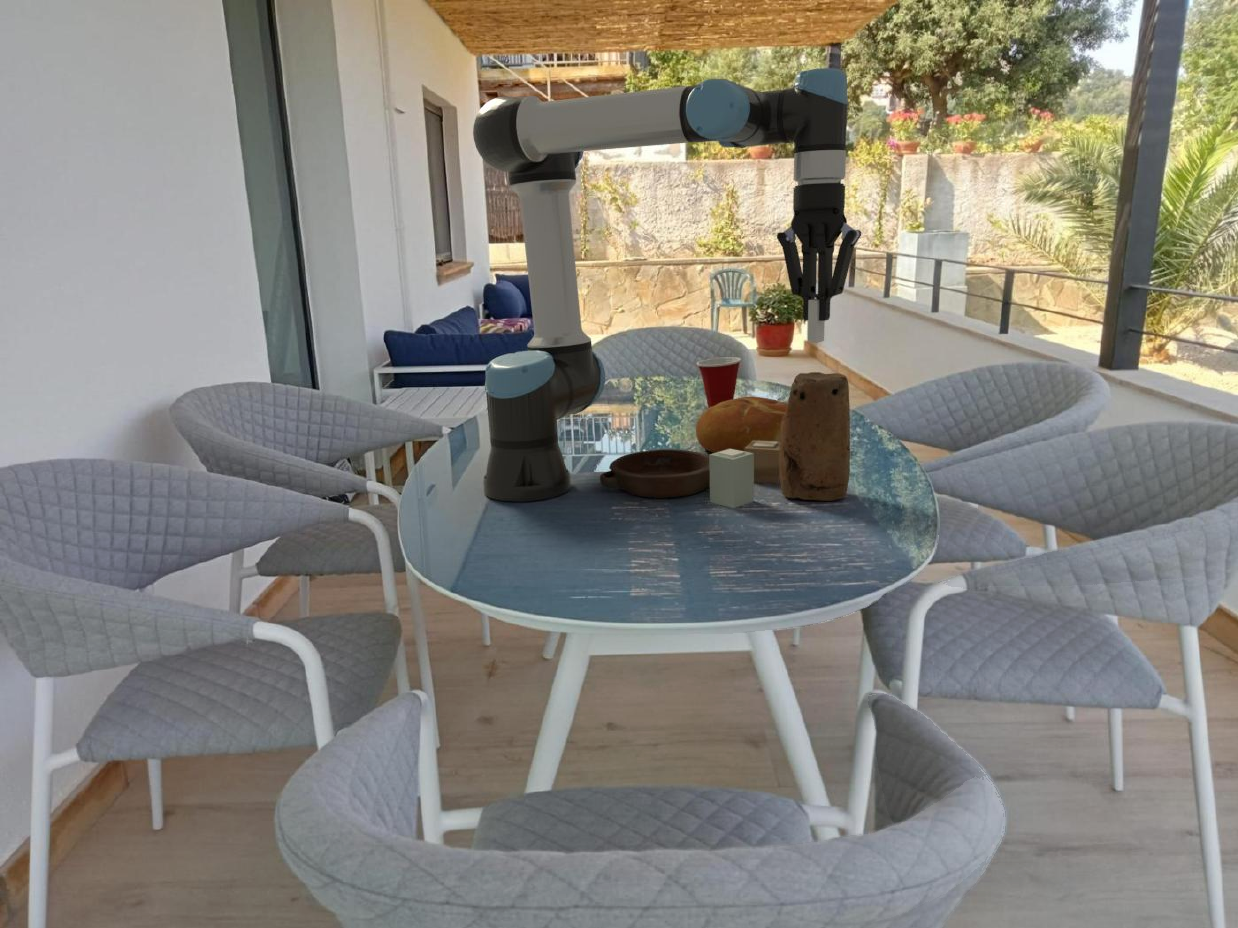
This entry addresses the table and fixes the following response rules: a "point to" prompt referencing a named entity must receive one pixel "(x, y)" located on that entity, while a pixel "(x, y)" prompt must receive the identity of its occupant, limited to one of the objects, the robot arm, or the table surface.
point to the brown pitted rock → (816, 438)
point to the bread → (740, 423)
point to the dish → (659, 473)
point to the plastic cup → (719, 378)
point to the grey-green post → (731, 478)
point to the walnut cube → (765, 460)
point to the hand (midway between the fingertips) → (815, 341)
